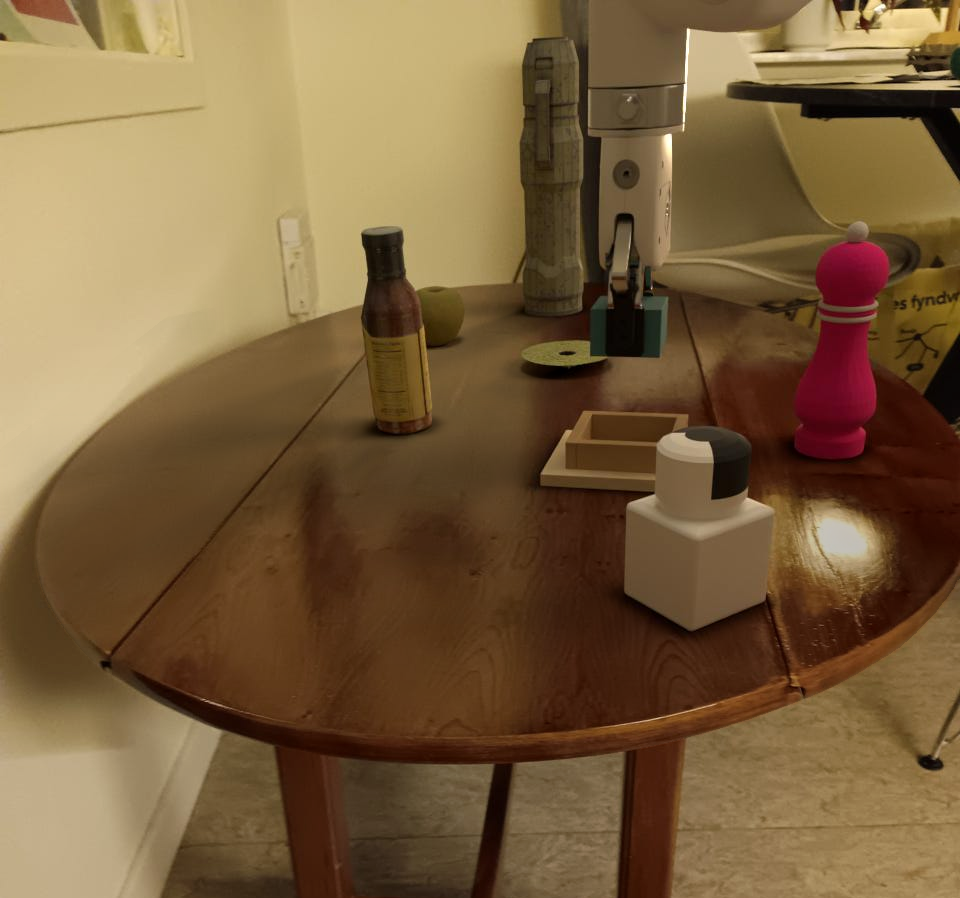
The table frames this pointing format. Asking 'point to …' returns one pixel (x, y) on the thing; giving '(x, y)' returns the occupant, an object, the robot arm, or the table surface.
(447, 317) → the apple
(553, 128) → the thermos
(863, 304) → the pepper mill
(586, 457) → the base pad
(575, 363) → the green disc with hole
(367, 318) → the sauce bottle
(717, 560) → the medicine bottle
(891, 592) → the table surface
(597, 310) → the teal block
